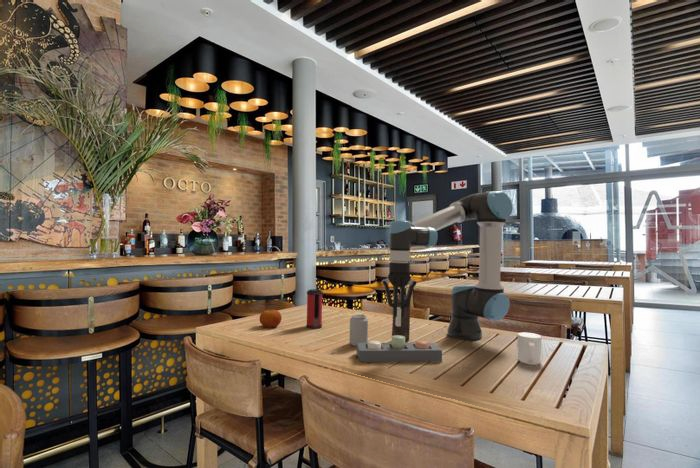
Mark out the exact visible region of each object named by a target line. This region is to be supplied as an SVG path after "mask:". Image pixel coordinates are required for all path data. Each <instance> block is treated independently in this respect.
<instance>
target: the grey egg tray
mask: <svg viewBox="0 0 700 468" xmlns="http://www.w3.org/2000/svg"><path fill="white" fill-rule="evenodd" d="M367 348H368V343H357V347H356V356H357V358H358V362H359V363H389V362H390V363H396V362H398V363H399V362H401V363H402V362H406V363H407V362H408V363H409V362H413V363H414V362H419V363H420V362H443V350H442V348H440V346H439V345H437V344H436V343H435V342H429V349H416V348H415V342H406V343H405V349H392V342H381V349H367Z"/></svg>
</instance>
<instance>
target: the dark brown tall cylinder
mask: <svg viewBox="0 0 700 468" xmlns="http://www.w3.org/2000/svg"><path fill="white" fill-rule="evenodd" d="M406 296H407V294H405V298H404V303H405V300H406ZM411 301H412V300H410V302H411ZM397 307H400V293H399V294H398V302H397ZM395 320H396V317H394V316H393V315H392V322H391V323H392V327H391V337H392V336H394V335H401V336H404V337H405V343H409V342H410V327H411V325H410V324H411V323H410V322H411V303H410V304H409V306H408V307H405V308H404V316H403V317H401V326H396V325H395Z"/></svg>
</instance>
